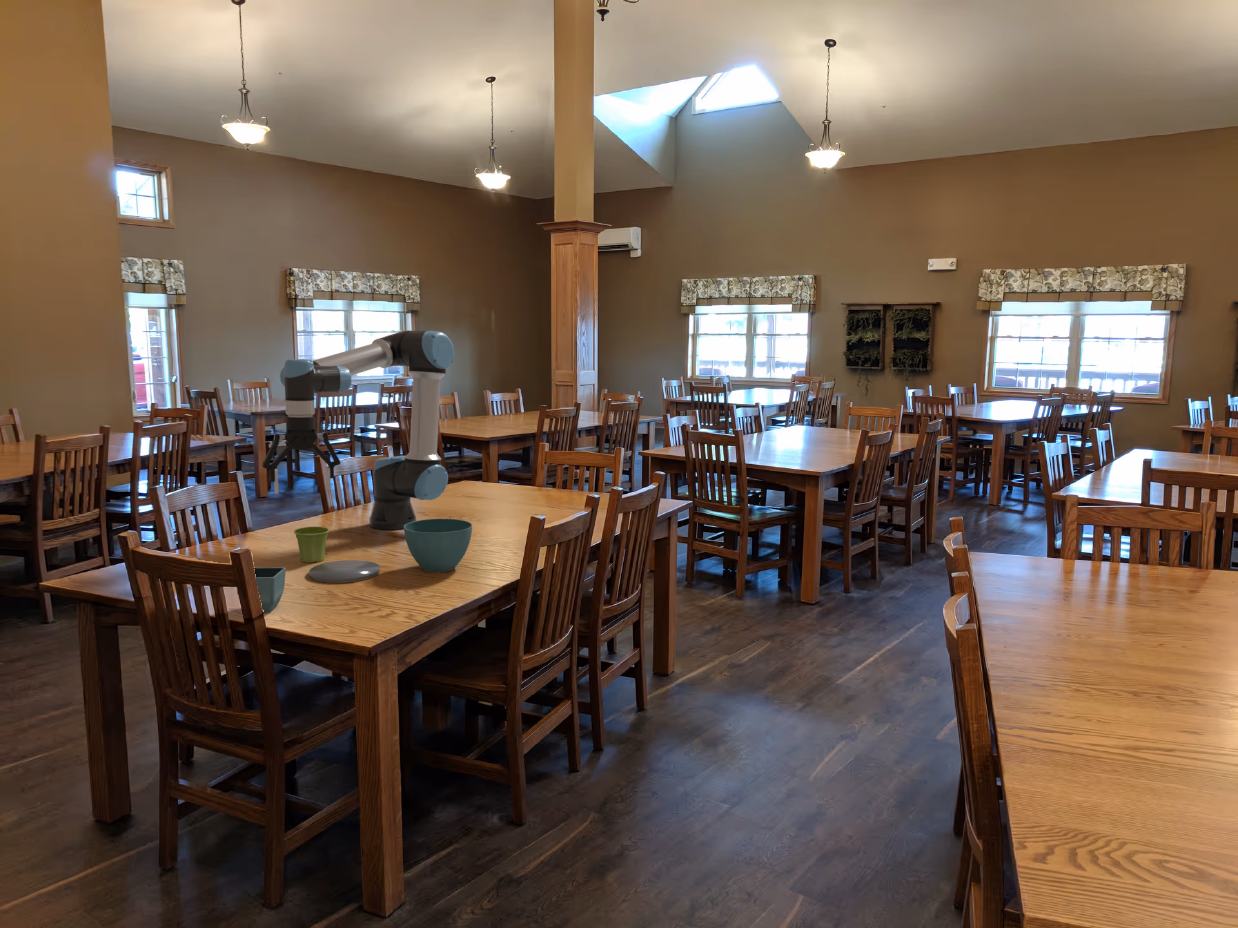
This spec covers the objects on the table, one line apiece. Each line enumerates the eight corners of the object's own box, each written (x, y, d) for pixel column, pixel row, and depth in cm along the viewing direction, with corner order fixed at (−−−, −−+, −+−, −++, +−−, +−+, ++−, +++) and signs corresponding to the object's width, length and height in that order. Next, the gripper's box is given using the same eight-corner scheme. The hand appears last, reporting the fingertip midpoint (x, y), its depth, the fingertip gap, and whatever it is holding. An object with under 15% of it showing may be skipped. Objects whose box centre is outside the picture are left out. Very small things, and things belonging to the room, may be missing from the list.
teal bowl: (394, 566, 230) (393, 522, 229) (454, 556, 241) (453, 515, 240) (421, 581, 216) (421, 535, 214) (484, 571, 227) (484, 527, 225)
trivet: (372, 561, 234) (372, 557, 234) (386, 578, 218) (386, 574, 218) (305, 568, 226) (304, 564, 226) (313, 586, 210) (313, 581, 210)
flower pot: (249, 603, 196) (247, 566, 195) (287, 603, 197) (286, 566, 195) (235, 616, 187) (233, 577, 186) (276, 615, 188) (274, 577, 187)
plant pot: (336, 556, 239) (335, 527, 237) (321, 565, 229) (320, 534, 228) (304, 555, 240) (303, 525, 238) (288, 563, 230) (287, 533, 229)
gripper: (344, 413, 238) (346, 486, 242) (249, 415, 227) (252, 492, 230) (349, 415, 232) (351, 490, 235) (252, 417, 220) (255, 496, 223)
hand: (302, 491), depth 232 cm, fingers open, 13 cm apart
